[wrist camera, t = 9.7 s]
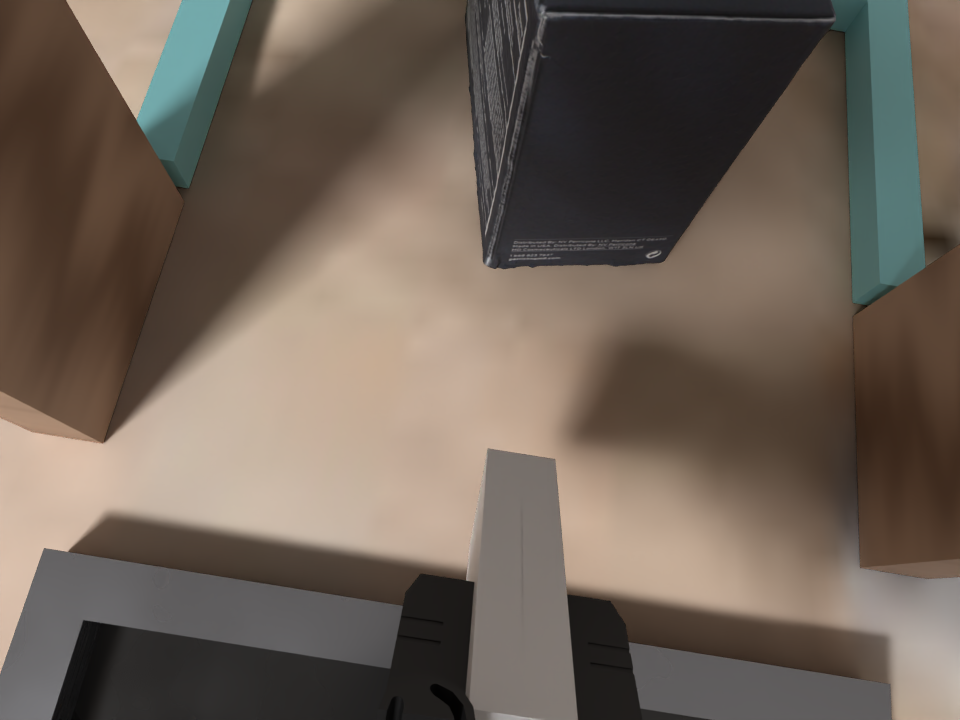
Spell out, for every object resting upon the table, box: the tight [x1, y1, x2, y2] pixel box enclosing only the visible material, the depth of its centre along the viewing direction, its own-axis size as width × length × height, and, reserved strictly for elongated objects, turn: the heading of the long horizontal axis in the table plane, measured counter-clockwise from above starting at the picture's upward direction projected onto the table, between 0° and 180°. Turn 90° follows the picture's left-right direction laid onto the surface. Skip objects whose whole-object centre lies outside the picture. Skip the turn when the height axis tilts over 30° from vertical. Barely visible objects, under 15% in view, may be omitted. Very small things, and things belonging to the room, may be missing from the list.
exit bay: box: [136, 0, 925, 305], centre depth 25 cm, size 13×25×2 cm, turn 81°
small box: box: [465, 0, 836, 269], centre depth 20 cm, size 11×6×10 cm, turn 4°
